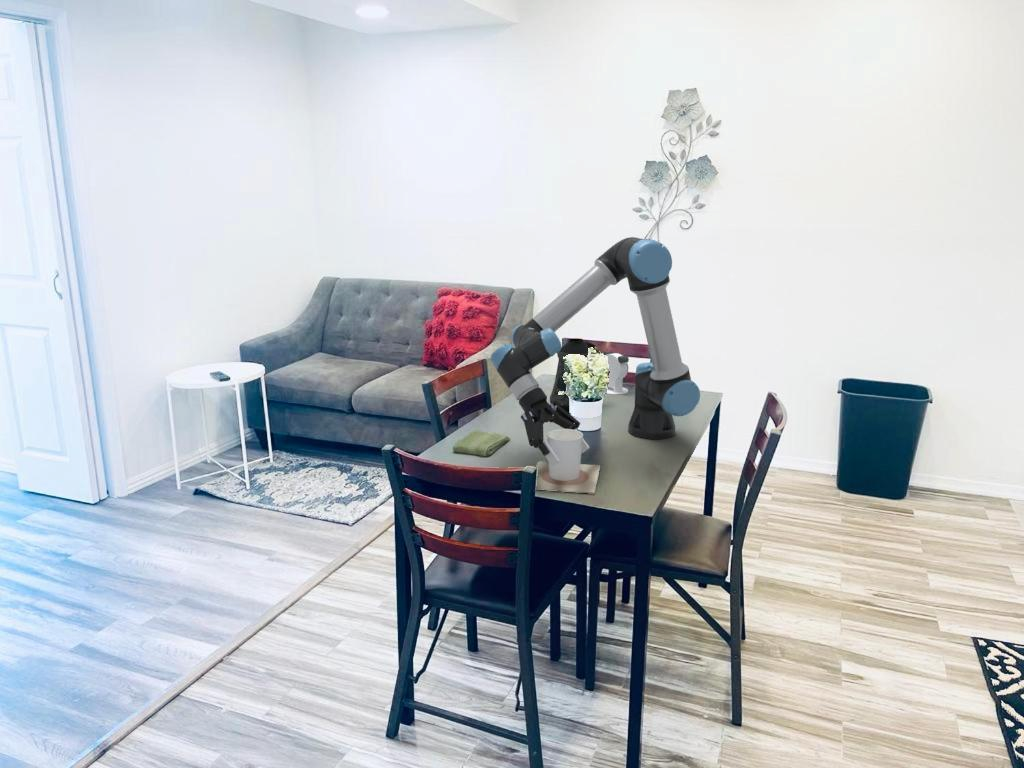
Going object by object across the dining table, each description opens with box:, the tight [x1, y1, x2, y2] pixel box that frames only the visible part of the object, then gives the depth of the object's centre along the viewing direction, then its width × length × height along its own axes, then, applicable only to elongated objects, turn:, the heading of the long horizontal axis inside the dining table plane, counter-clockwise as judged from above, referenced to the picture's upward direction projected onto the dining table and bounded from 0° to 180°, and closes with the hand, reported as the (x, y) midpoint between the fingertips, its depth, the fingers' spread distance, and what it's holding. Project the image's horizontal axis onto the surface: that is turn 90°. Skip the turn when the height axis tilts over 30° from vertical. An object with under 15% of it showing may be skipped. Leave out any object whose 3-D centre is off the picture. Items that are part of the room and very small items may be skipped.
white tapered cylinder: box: [546, 428, 584, 481], centre depth 207 cm, size 10×10×12 cm
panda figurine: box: [603, 350, 630, 396], centre depth 294 cm, size 12×11×15 cm
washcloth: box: [452, 429, 511, 457], centre depth 234 cm, size 13×18×3 cm
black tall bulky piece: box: [549, 337, 601, 414], centre depth 272 cm, size 16×19×25 cm
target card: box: [535, 461, 601, 495], centre depth 208 cm, size 18×20×1 cm
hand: (571, 457), depth 205 cm, fingers open, 13 cm apart
